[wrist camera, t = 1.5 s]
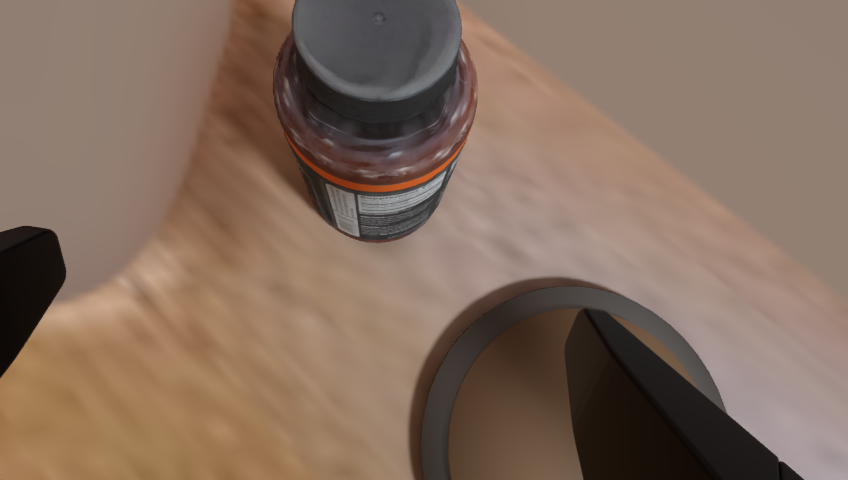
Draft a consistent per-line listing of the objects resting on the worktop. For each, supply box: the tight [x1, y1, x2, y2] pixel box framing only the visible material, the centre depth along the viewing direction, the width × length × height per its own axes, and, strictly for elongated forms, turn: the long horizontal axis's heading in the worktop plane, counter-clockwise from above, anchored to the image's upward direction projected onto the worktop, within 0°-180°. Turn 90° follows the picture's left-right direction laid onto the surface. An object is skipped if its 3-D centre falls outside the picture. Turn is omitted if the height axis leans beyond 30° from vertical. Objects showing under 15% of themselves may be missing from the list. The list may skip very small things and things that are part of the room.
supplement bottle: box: [273, 0, 478, 243], centre depth 17 cm, size 6×6×11 cm
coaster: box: [421, 286, 727, 480], centre depth 20 cm, size 13×13×1 cm
